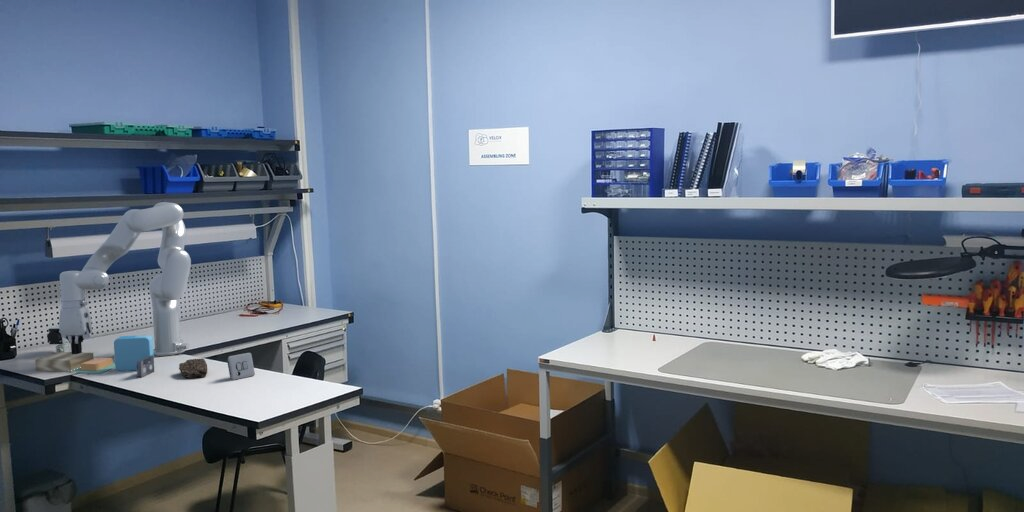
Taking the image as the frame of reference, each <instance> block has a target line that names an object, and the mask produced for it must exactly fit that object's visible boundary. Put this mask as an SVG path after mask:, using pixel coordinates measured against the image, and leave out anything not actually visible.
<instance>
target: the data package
mask: <svg viewBox="0 0 1024 512" xmlns="http://www.w3.org/2000/svg"><path fill="white" fill-rule="evenodd" d="M113 349H114V350H113V351H114V362H115V368H114V369H115V370H117V371H118V372H125V371H131V372H132V371H137V361H140V360H142V359H144V358H146V357H148V356H153V357H154V358H155V355H154V352H153V349H154V337H152V336H151V335H147V334H144V335H122V336H119V337H117V338H116V339H115V340H113Z"/></svg>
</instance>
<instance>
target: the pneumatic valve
mask: <svg viewBox="0 0 1024 512" xmlns="http://www.w3.org/2000/svg"><path fill="white" fill-rule="evenodd" d="M47 330H48V333H47V334H46V336H47V342H48V343H49V345H55V353H57V352H70V350H69V347H70V346H69V344H68V343H69V341H68V340H67V339H66V338H62V337H61V335H62V334H61V333H60V329H59V324H58V325H56V326H52V327H50V328H48V329H47Z"/></svg>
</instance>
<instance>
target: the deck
mask: <svg viewBox="0 0 1024 512" xmlns="http://www.w3.org/2000/svg"><path fill="white" fill-rule="evenodd" d="M94 357H95V356H94V352H82V353H79V354H72V351H69V352H57V353H56V352H54V353H50V354H48V355H45V356H42V357H38V358H35V359H34V362H35V363H34V364H35V365H34V366H35V371H45V370H48V371H49V372H50V371H52V372H70V371H71V370H74V369H77V368H80V367H81V365H80V364H81V363H84V362H86V361H89V360H92V359H95V358H94ZM61 370H62V371H61ZM64 370H65V371H64ZM67 370H69V371H67Z"/></svg>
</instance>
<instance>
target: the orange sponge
mask: <svg viewBox="0 0 1024 512" xmlns="http://www.w3.org/2000/svg"><path fill="white" fill-rule="evenodd" d="M113 362H114V361H113V357H95V358H94V359H92V360H89V361H86V362H84V363H81V364H80V365H81V370H94V371H96V370H99V369H102V368H104V367H107V366H110V365H112V364H113Z"/></svg>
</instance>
